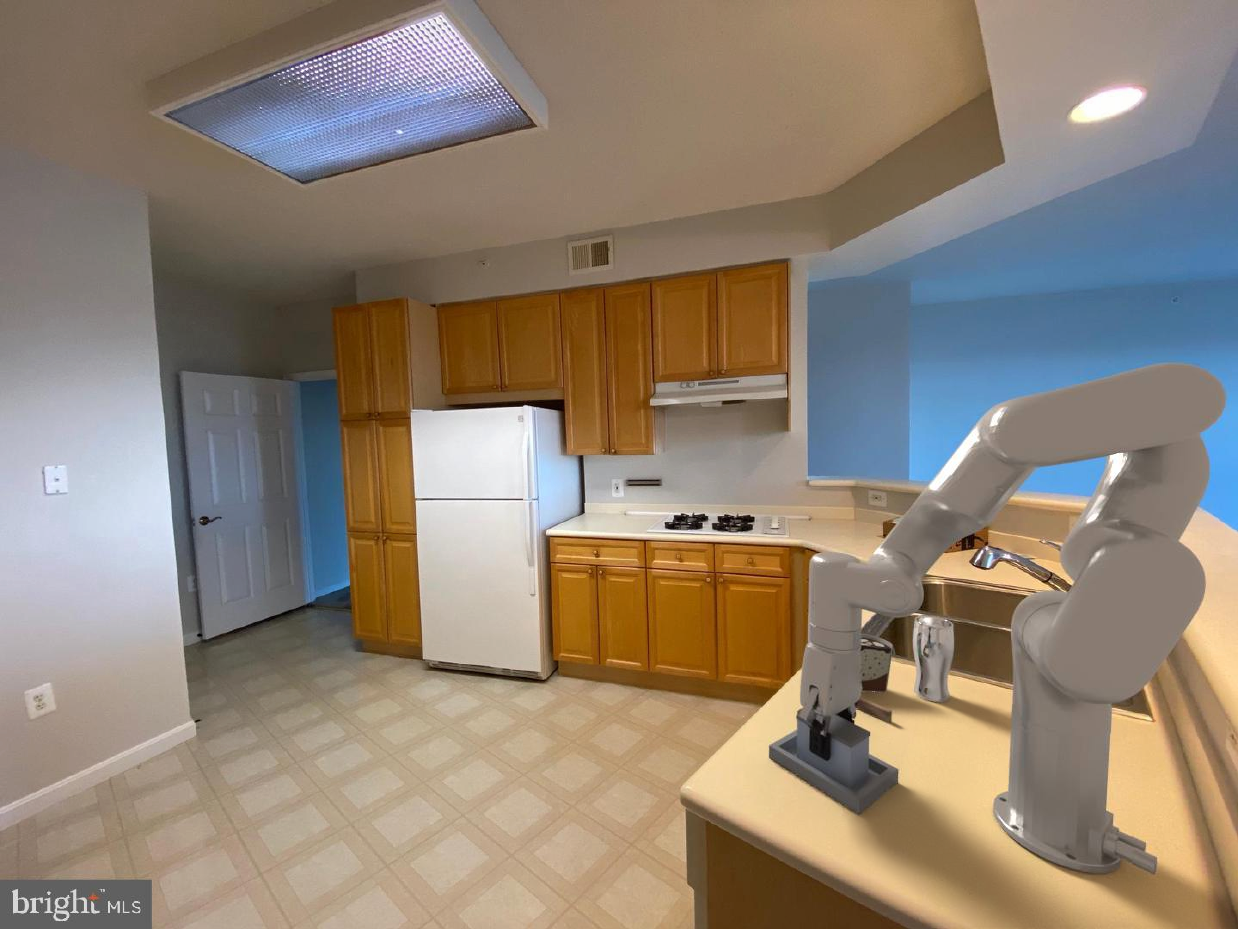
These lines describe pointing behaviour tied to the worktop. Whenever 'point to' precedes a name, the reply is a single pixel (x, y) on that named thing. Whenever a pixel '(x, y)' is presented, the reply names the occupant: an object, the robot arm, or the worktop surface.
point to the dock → (872, 710)
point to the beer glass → (932, 657)
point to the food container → (875, 663)
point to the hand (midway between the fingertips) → (831, 747)
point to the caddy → (838, 751)
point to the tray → (855, 799)
